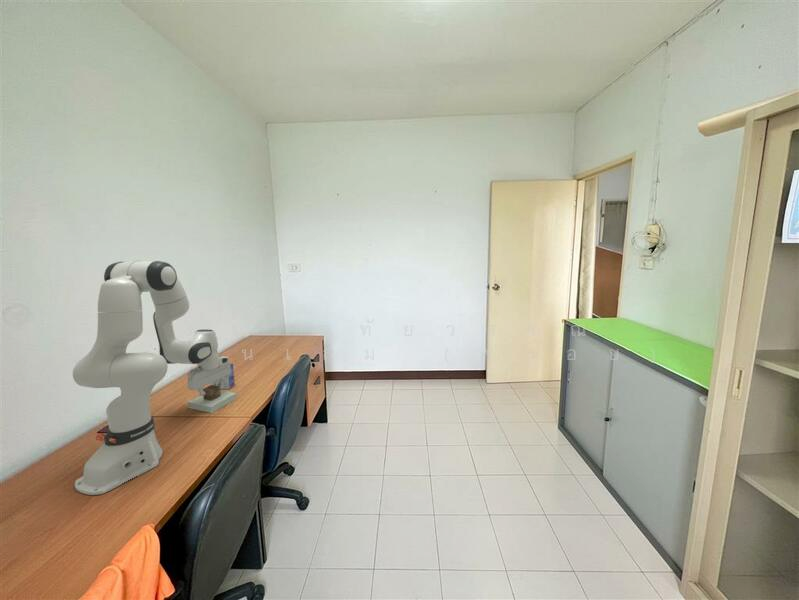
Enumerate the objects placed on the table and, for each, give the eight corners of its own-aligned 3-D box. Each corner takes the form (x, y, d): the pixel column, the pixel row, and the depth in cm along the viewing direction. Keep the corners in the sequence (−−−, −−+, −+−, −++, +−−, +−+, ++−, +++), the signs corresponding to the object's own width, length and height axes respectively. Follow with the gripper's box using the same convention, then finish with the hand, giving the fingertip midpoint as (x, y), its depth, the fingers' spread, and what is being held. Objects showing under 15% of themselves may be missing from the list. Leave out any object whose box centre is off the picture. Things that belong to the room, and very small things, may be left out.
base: (211, 413, 140) (210, 407, 140) (188, 408, 145) (187, 402, 144) (236, 398, 154) (236, 393, 153) (214, 394, 158) (214, 388, 157)
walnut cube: (211, 400, 146) (210, 390, 145) (203, 399, 147) (202, 389, 146) (220, 395, 150) (219, 386, 149) (213, 394, 152) (211, 384, 151)
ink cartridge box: (235, 384, 169) (233, 359, 167) (230, 389, 164) (227, 363, 161) (217, 384, 169) (214, 359, 167) (211, 389, 164) (208, 363, 161)
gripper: (192, 372, 135) (196, 402, 137) (231, 356, 154) (234, 382, 156) (182, 370, 137) (185, 399, 139) (221, 355, 156) (224, 381, 158)
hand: (211, 390), depth 148 cm, fingers open, 8 cm apart
